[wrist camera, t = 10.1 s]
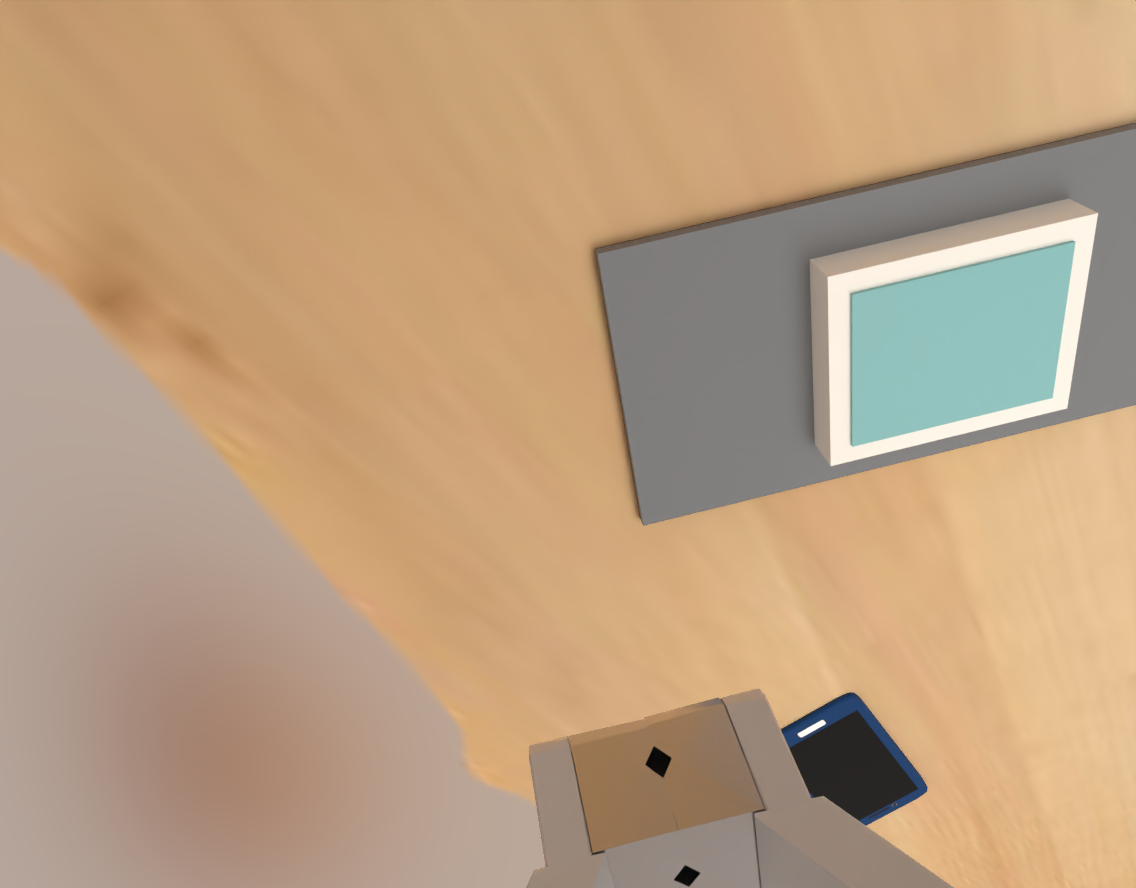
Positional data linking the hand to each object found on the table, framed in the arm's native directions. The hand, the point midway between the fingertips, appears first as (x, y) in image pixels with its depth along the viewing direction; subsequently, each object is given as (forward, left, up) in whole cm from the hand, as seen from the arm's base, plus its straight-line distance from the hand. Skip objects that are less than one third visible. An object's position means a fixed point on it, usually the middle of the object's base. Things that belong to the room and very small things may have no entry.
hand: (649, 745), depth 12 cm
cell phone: (+46, +15, -30) cm, 57 cm away
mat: (+13, +19, -29) cm, 37 cm away
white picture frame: (+13, +13, -28) cm, 33 cm away
